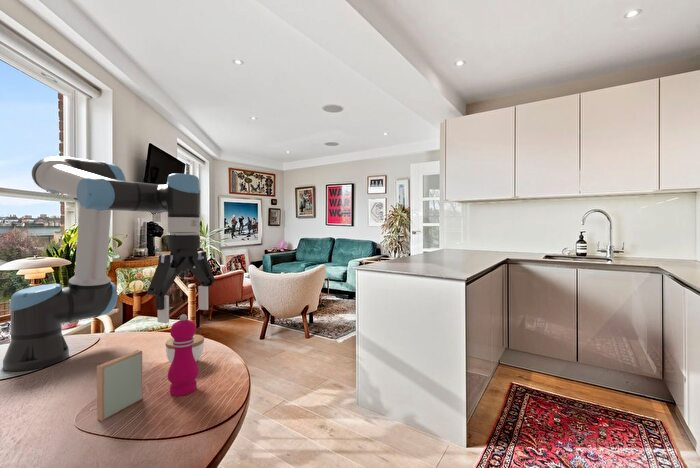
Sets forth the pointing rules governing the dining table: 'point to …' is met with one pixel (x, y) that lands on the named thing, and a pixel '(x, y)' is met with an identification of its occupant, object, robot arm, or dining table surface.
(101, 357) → the dining table surface
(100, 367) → the tile
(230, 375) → the dining table surface
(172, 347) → the lidded jar
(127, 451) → the dining table surface
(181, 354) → the pepper mill
